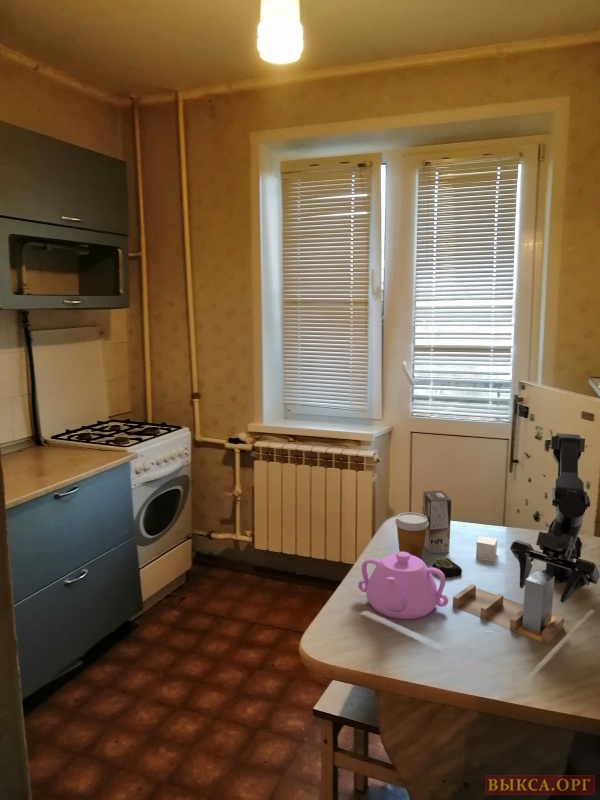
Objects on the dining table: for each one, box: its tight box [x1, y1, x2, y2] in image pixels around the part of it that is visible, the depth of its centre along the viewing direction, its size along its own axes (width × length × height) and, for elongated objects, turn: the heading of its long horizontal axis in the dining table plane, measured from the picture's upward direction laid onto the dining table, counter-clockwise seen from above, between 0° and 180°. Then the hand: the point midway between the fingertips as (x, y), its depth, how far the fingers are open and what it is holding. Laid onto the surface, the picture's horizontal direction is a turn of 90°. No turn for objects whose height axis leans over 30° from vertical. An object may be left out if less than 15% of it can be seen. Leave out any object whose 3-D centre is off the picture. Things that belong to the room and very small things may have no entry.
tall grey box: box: [522, 570, 555, 636], centre depth 136 cm, size 6×4×12 cm, turn 136°
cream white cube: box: [475, 535, 498, 562], centre depth 176 cm, size 5×5×5 cm
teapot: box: [357, 551, 449, 620], centre depth 145 cm, size 22×22×14 cm
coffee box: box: [421, 490, 452, 554], centre depth 181 cm, size 9×6×16 cm
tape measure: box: [431, 557, 463, 579], centre depth 164 cm, size 7×7×4 cm
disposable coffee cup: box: [394, 512, 429, 560], centre depth 174 cm, size 10×10×12 cm
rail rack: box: [452, 583, 570, 645], centre depth 143 cm, size 12×23×4 cm, turn 46°
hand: (540, 594), depth 136 cm, fingers open, 9 cm apart
